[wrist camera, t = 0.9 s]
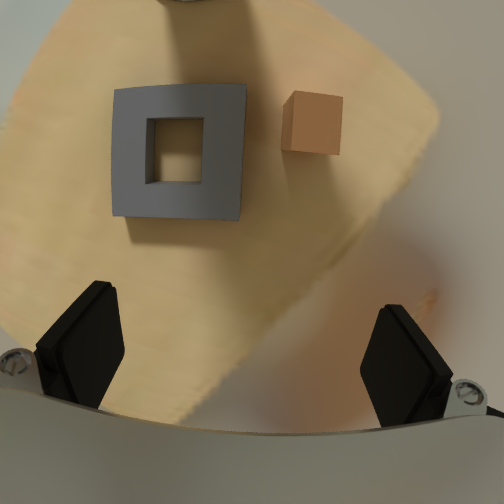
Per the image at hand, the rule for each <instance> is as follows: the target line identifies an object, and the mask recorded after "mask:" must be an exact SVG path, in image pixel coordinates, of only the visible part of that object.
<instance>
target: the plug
mask: <svg viewBox="0 0 504 504" xmlns="http://www.w3.org/2000/svg"><path fill="white" fill-rule="evenodd" d="M342 106H343V97H339V96H333V95H326V94H319V93H311V92H303V91H294V92H293V93H292V95H291V96H290V97H289V99H288V100H287V101H286V103H285V104H284V106H283V123H282V138H281V150H290V151H301V152H311V153H321V154H330V155H339V152H340V139H341V124H342Z"/></svg>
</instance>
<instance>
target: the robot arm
mask: <svg viewBox="0 0 504 504" xmlns="http://www.w3.org/2000/svg"><path fill="white" fill-rule="evenodd" d="M178 1H197V0H178ZM36 347H37V349H36V350H35V351H34V353H33V352H32V351H30V350H28V349H25V348H16V349H11V350H8V351H7V352H5V353H4V354H2V355H1V356H0V504H504V413H503V412H501V411H498V410H496V409H494V408H491V407H489V406H487V394H486V392H485V390H484V389H483V388H482V387H481V386H480V385H479V384H477V383H476V382H474V381H471V380H467V379H459V380H456V381H455V382H454V383H452V382H451V380H450V379H451V377H452V376H453V372H452V371H451V369H450V368H449V367H448V365H447V364H446V362H445V361H444V360H443V358H442V357H441V356H440V354H439V353H438V351H437V350H436V349H435V347H434V346H433V345H432V343H431V342H430V341H429V340H428V338H427V337H426V335H425V334H424V333H423V332H422V331H421V329H420V328H419V326H418V325H417V324H416V323H415V321H414V320H413V319H412V317H411V316H410V315H409V314H408V312H407V311H406V310H405V309H404V307H403V306H402V305H394V304H387V305H385V307H384V308H381V309H380V311H379V314H378V317H377V320H376V323H375V326H374V329H373V332H372V335H371V339H370V341H369V344H368V347H367V350H366V352H365V355H364V358H363V361H362V363H361V366H360V373H361V377H362V379H363V382H364V384H365V386H366V389H367V391H368V394H369V396H370V399H371V401H372V404H373V406H374V409H375V412H376V414H377V417H378V419H379V422H380V425H381V427H382V428H374V429H364V430H354V431H341V432H323V433H253V432H236V431H235V432H234V431H222V430H212V429H203V428H194V427H186V426H179V425H172V424H166V423H160V422H154V421H148V420H143V419H138V418H133V417H128V416H124V415H119V414H115V413H111V412H106V411H102V410H98V407H99V405H100V403H101V401H102V399H103V397H104V395H105V393H106V391H107V389H108V387H109V385H110V383H111V381H112V379H113V377H114V375H115V373H116V371H117V369H118V367H119V365H120V363H121V361H122V359H123V357H124V352H125V348H124V341H123V335H122V329H121V322H120V315H119V308H118V300H117V292H116V288H115V287H112V284H111V283H110V282H105V281H97V280H95V281H94V282H93V283H92V284H91V285H90V286H89V287H88V288H87V289H86V290H85V291H84V292H83V293H82V294H81V295H80V296H79V297H78V298H77V299H76V300H75V301H74V302H73V303H72V304H71V306H70V307H69V308H68V309H67V310H66V311H65V312H64V313H63V314H62V315H61V316H60V317H59V319H58V320H57V321H56V322H55V323H54V324H53V325H52V326H51V327H50V329H49V330H48V331H47V332H46V333H45V334H44V335H43V337H42V338H41V339H40V340H39V341H38V342H37V343H36Z"/></svg>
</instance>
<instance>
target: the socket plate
mask: <svg viewBox="0 0 504 504" xmlns="http://www.w3.org/2000/svg"><path fill="white" fill-rule="evenodd" d="M246 100H247V84H175V85H157V86H144V87H134V88H124V89H116V90H114V102H113V118H112V145H111V186H112V213H113V216H125V217H159V218H187V219H210V220H231V221H239V218H240V207H241V188H242V169H243V151H244V133H245V116H246ZM181 119H204V124H203V144H202V168H201V182H183V181H154V140H155V120H181Z"/></svg>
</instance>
